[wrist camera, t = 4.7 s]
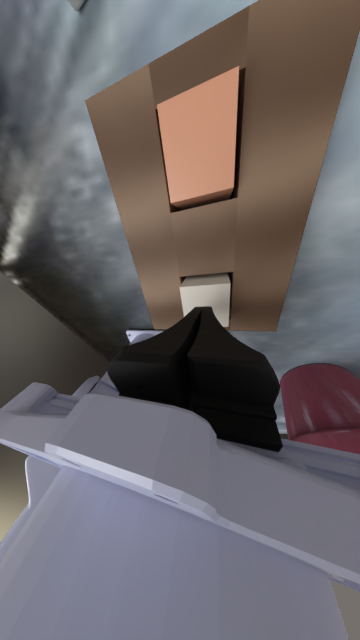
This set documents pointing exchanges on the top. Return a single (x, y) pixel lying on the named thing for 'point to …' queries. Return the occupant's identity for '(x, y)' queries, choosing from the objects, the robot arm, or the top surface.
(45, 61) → the top surface
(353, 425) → the plant pot
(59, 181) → the top surface
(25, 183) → the top surface
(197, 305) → the cream key
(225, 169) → the terracotta key
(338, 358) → the top surface
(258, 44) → the walnut panel
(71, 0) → the skincare box
